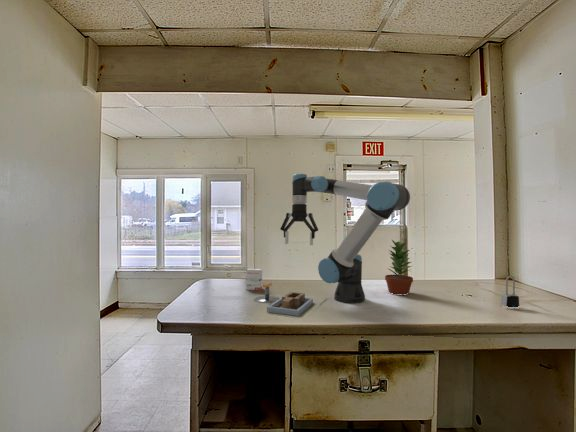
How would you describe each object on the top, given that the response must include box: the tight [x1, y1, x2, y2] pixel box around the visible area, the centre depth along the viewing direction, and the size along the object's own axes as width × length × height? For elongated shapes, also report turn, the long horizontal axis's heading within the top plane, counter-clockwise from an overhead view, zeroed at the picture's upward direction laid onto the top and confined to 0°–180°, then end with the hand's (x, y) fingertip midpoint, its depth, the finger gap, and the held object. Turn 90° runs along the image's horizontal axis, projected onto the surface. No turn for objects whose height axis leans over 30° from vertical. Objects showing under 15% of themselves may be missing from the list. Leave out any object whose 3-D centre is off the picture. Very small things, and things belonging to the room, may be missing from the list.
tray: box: [266, 297, 314, 319], centre depth 139 cm, size 14×21×3 cm, turn 159°
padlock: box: [500, 275, 520, 307], centre depth 146 cm, size 7×4×15 cm, turn 93°
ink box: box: [245, 268, 263, 291], centre depth 173 cm, size 9×5×12 cm, turn 84°
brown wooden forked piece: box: [281, 291, 306, 310], centre depth 140 cm, size 16×7×5 cm, turn 159°
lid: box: [253, 281, 281, 304], centre depth 151 cm, size 13×13×9 cm
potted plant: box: [384, 239, 414, 295], centre depth 172 cm, size 15×15×30 cm
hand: (298, 244), depth 163 cm, fingers open, 13 cm apart
